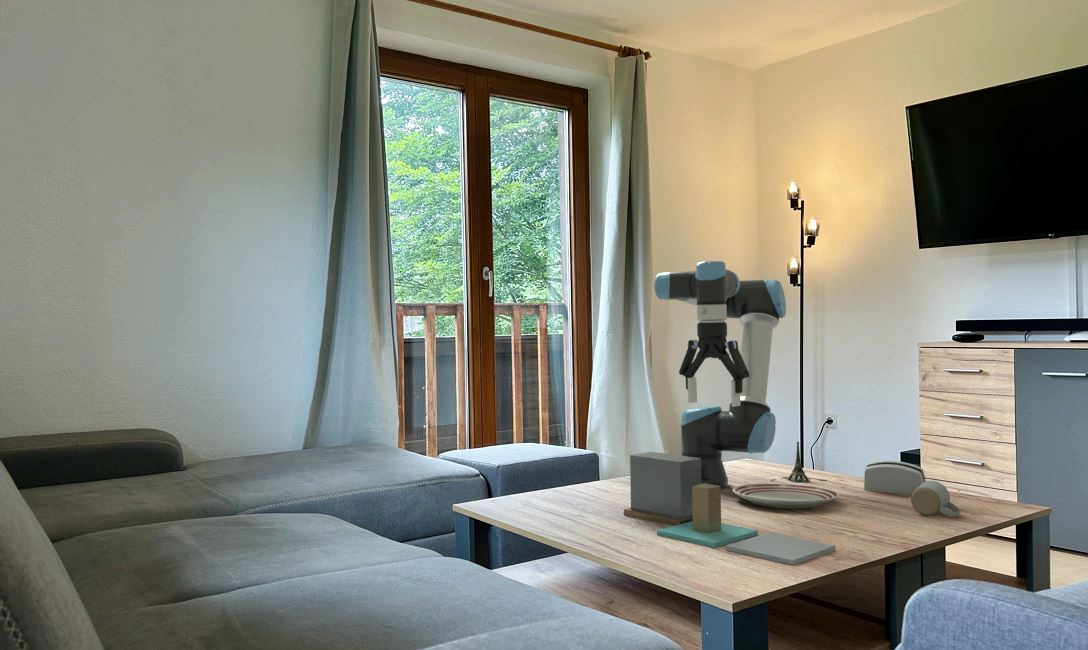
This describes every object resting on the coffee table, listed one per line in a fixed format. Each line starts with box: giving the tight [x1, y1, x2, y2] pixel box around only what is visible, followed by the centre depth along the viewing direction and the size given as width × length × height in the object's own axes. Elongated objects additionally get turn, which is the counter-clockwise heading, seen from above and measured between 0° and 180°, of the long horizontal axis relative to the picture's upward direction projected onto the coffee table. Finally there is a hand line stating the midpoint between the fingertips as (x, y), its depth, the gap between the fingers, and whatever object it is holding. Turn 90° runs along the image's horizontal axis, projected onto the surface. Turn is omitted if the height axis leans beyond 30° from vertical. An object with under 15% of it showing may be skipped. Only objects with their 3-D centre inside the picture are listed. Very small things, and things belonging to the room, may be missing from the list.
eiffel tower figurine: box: [770, 441, 829, 484], centre depth 260 cm, size 15×10×13 cm
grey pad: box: [725, 532, 836, 566], centre depth 180 cm, size 16×16×1 cm
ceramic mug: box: [910, 480, 961, 518], centre depth 212 cm, size 11×8×8 cm
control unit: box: [623, 451, 702, 526], centre depth 213 cm, size 18×11×15 cm, turn 42°
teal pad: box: [656, 521, 759, 548], centre depth 195 cm, size 16×16×1 cm
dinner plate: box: [732, 482, 840, 509], centre depth 230 cm, size 28×27×3 cm
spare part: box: [692, 483, 722, 534], centre depth 195 cm, size 4×4×10 cm
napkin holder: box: [863, 460, 927, 496], centre depth 240 cm, size 17×5×10 cm, turn 55°
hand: (713, 404), depth 221 cm, fingers open, 13 cm apart
